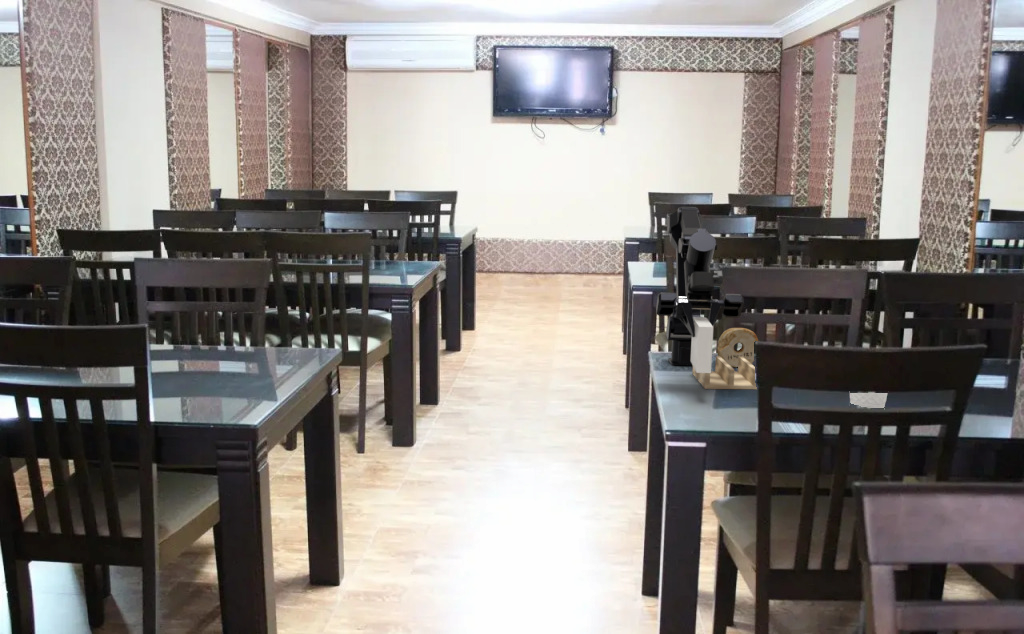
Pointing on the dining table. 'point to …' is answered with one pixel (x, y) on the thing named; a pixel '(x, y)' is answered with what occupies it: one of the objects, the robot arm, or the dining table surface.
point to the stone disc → (731, 338)
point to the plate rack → (728, 375)
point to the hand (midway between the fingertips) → (701, 336)
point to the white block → (702, 345)
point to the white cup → (869, 399)
